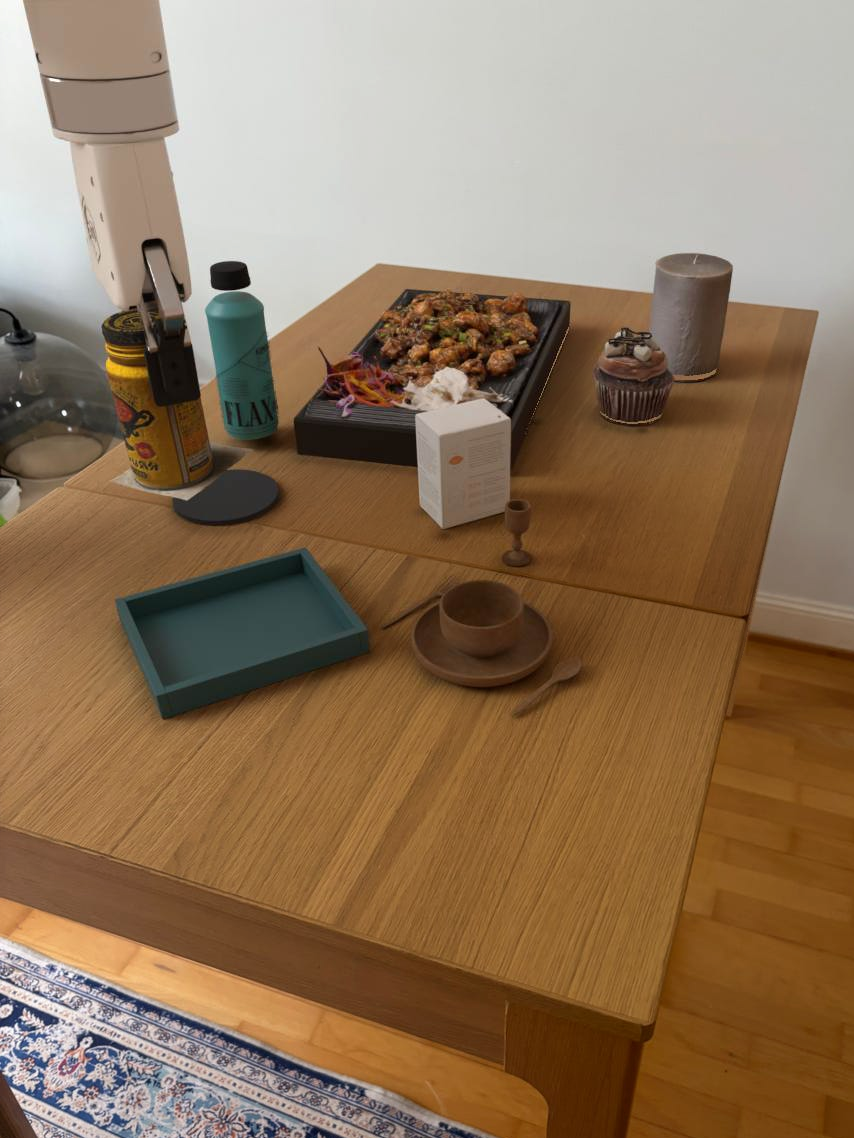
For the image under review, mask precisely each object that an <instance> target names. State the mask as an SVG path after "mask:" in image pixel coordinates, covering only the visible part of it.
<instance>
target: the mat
mask: <svg viewBox="0 0 854 1138" xmlns="http://www.w3.org/2000/svg"><path fill="white" fill-rule="evenodd" d="M279 499H280V488H279V485H278V482H276V480H275V479H274V478H272V477H271V476H269V475H267V474H265V473H262V472H260V471H255V470H251V469H239V468H238V469H237V468H236V469H234V468H233V469H227V470H226V471H225V472H224V473H223V474H222V475H221V476H219V477H218V478H217V479H215V480H214V482H212V483H211V484H210V485H208V486H206V487H205V488H204V489H203V490H201V491H200V492H198V493H197V494H196V495H194V496H193V497H191V498H190V499H189V500H183V499H180V498H175V497H172V499H171V500H172V508H173V509H174V512H175V513H176V514H177V515H178V516H179V517H180V518H182V519H183V520H185V521H187V522H190V523H194V524H198V525H203V526H228V525H237V524H240V523H244V522H247V521H251V520H254V519H256V518H259V517H261V516H262V515H265V514H267V512H270V510H272V509H273V508H274V507H275V506H276V504H277V503H278V501H279Z"/></svg>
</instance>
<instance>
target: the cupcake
mask: <svg viewBox="0 0 854 1138" xmlns="http://www.w3.org/2000/svg"><path fill="white" fill-rule="evenodd" d="M635 335H637V336H636V337H635ZM667 366H668V361H667V357H666V354H665V353H664V352H663V351H661V349H660V347H659V344H658V343H657V342H656V341H655V340H654V339H653V338H652V334H651V333H650V332H649V331H634V330H631V329H630V328H629V327H628V326H627V327H626V326H624V327H621V328H620V331H618V332H617V333H615V336H614V338H609V339H608V341H607V342H606V343H605V344H604V350H603V351H602V352H601V353H600V355H599V357H598V360H597V362H596V364H595V366H594V368H593V379H594V384H595V389H596V396H597V404H598V405H597V406H598V411H599V410H600V411H601V412H602V413H603V414H606V416H608V417H609V418H612V419H613V420H614V419H615V420H621V421H625V422H638V421H645V420H646V421H647V420H649V419H652V418H654V417H658V416H659V415H661V414H664V412H665V409H666V407H667V402H668V399H669V396H670V393H671V390H672V387H673V385H674V382H675V381H674V379H675V378H674V376H673V374H671V372H670V370H669V369H667ZM600 411H599V415H600V417H601V418H602V419H604V420H605V421H607V422H610V423H612V424H616V425H621V426H624V427H625V426H626V427H643V426H648V425H652V424H654V423H656V422H658V421H660V420H661V418H663V415H662V416H661V417H660V418H658V419H656V420H654V421H651V422H647V423H638V424H627V423H621V422H616V421H613V420H610V419H609V418H606V417H605V416H603V415H602V414H601V413H600Z"/></svg>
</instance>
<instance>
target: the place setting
mask: <svg viewBox="0 0 854 1138" xmlns="http://www.w3.org/2000/svg"><path fill="white" fill-rule="evenodd" d="M531 516H532V504H531V502H529V501H528V500H525V499H522V498H514V499H510V501H508V502H506V504H505V512H504V524H505V527H506V530H507V531H508V532H509V533H511V534H512V537H513V538H512V541H511V543H510V544H511V548H512V549H510V550H509V549H508V550H507V551H504V553H502V555H501V556H502V557H501V559H502V562H503V564H506V565H508V566H510V567H515V568H516V567H517V568H519V567H520V568H521V567H524V566H527V565H528V564H529V563H531V561H532V555H531V554H530V552H528V551H526V550H523V549H522V548H523V540H522V536H523V534H524V533H526V532H528V530H529V528H530V525H531V518H532V517H531ZM453 576H454V577H453ZM457 576H458V574H456V575H455V573H453V574H452V575H450V576H449V577H448V578H447V579H446V580H444V581H443V583H441V584H440V585H439V586H438V587H436V588H435V589H434V591H433V592H431V593H430V594H428V595H426V596H425V597H423V598H422V599H420V600H419V601H417V602H416V603H414V604H412V605H411V606H409V607H408V608H406V609H404V610H403V611H401V612H399V613H398V614H396V615H395V616H393V617H392V618H390V619H388V621H386V622H385V623H383V624H382V625H381V626H380V627H381V628H382V629H385V628H387V627H390V626H391V625H393V624H395V623H396V622H398V621H400V620H401V619H402V618H404V617H406V616H408V615H409V614H411V613H412V612H413V611H415V610H416V609H418V608H420V607H421V606H422V605H424V604H425V603H427V602H428V601H430V600H432V599H434V598H435V597H440V599H439V600H438V601H436V602H434V603H433V604H431V605H429V606H428V607H426V608H425V609H424V610H423V611H422V612H421V613H420V614H418V616H417V617H416V618H415V620H414V622H413V623H412V626H411V629H410V645H411V648H412V651H413V652H412V653H413V654H414V656H415V657H416V659H417V661H418V662H419V663H420V664H421V666H423V667H424V668H425V669H426V670H427V671H428V672H430V673H431V674H432V675H433V676H436V677H438V678H439V679H440V680H441V679H442V680H444V681H446V682H449V683H452V684H455V685H460V686H465V687H473V688H489V687H490V688H492V687H498V686H499V687H500V686H504V685H507V684H511V683H515V682H518V681H519V680H521V679H524V678H526V677H528V676H529V675H531V674H532V673H534V672H535V671H536V670H538V669H539V668H540V666H542V665H543V663H544V662H545V661H546V659H547V658H548V656H549V654H550V651H551V649H552V644H553V636H554V635H553V630H552V626H551V623H550V621H549V620H548V618H547V617H546V615H544V613H542V611H540V610H539V609H538V608H537V607H535V606H534V605H532V604H530V603H529V602H527V601H525V600H524V599H523V596H522V595H521V594H520V592H518V590H516V589H515V588H514V587H512V586H510V585H508V584H506V583H504V582H502V581H501V582H500V581H496V580H490V579H472V580H466V581H463V579H464V578H463V577H462V578H461V576H459V577H457ZM452 577H453V578H452ZM460 578H461V579H460ZM458 580H459V581H458ZM452 581H453V582H452ZM462 581H463V582H462ZM582 665H583V660H582V658H581V657H579V656H575V657H574V656H573V657H569V658H566V659H563V660H562V661H560V662H558V664H556V666H555V667H554V668H553V671H552V673H551V677H550V678H549V679H548V680H547V681H546V682H545V683H544V684H542V685H541V686H540V687H539V688H538V689H536V690H535V691H534V692H532V694H530V695H529V696H527V697H526V698H525V699H524V700H523V701H521V702H520V703H519V704H518V705H517V706H516V707H514V709H513V710H512V711H511V713H510V716H513V717H514V716H516V715H518V714H520V713H521V712H523V711H524V710H525V709H526V708H527V707H529V706H530V705H531V704H532V703H533V702H534V701H535V700H537V699H538V698H539V697H540V696H541V695H542V694H543V693H544V692H546V691H547V689H549V688H550V687H551V686H552V685H555V684H556V683H560V682H565V681H568V680H570V679H572V678H573V677H575V676H576V675H577V674H578V673H579V672H580V671H581V668H582Z"/></svg>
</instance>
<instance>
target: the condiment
mask: <svg viewBox="0 0 854 1138" xmlns="http://www.w3.org/2000/svg"><path fill="white" fill-rule="evenodd" d="M149 314H150V317H151V321H152V325H153V324H155V319H158V318H160V317H159V311H155V312H149ZM101 335H102V336H103V339H104V342H105V343H104V344H105V352H106V354H107V355H108V357H107V359H106V361H105V371H106V375H107V381H108V383H109V386H110V390H111V393H112V394H111V395H112V399H113V401H114V406H115V410H116V413H117V418H118V421H119V425H120V428H121V429H120V430H121V433H122V438H123V440H124V446H125V449H126V453H127V456H128V460H129V464H130V468H128V469H127V470H125V471H124V472H122V473H119V475H118V476H116V477H115V478H113V479H111V480H108V482H109V483H113V484H118V485H121V486H125V487H128V488H131V489H134V490H138V491H142V492H146V493H152V494H156V495H161V496H166V497H172V498H173V497H175V498H180V499H183V500H189V499H190V498H191V497H193V496H194V495H196V494H197V493H198V492H200V491H201V490H203V489H204V488H205V487H206V486H208V485H210V484H211V483H212V482H214V480H215V479H217V478H218V477H219V476H221V475H222V474H223V473H224V472H225V471H226V470H229V469H230V468H232V467H233V466H235V465H236V464H237V463H239V462H240V461H241V460H242V459H243V458H244V457H246V455H248V454H249V453H251V452H252V451H253V450H254V449H253V448H248V447H243V448H242V447H239V446H237V447H236V446H232V445H226V444H221V443H218V442H211V441H210V438H209V433H208V427H207V423H206V417H205V412H204V407H203V401H202V397H201V396H200V398H199V399H198V400H195V401H190V402H184V403H179V404H174V405H168V406H163V407H159V406H157V405H156V404H155V403H154V401H153V397H152V392H151V387H150V382H149V377H148V372H147V367H146V362H145V357H144V352H143V349H148V348H147V344H146V340H145V336H144V333H143V329H142V325H141V321H140V317H139V313H138V310H137V309H131V310H129V311H122V310H121V311H119V312H116V313H114V314H112V315H110V316H109V317H107V318H106V319H104V321H103V323H102V324H101Z"/></svg>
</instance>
